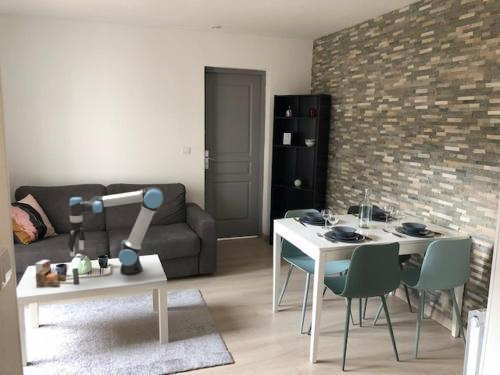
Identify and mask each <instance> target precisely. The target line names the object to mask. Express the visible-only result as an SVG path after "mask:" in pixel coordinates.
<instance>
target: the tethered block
mask: <svg viewBox="0 0 500 375" xmlns="http://www.w3.org/2000/svg"><path fill="white" fill-rule="evenodd" d="M58 274H59V273H56V272H55V273H54V272H52V273H48V274H47V275H46V276H45V281H58V276H59V275H58ZM72 275H73V276H72V279H73V281H60V284H73V285H79V284H80V279H79V278H80V277H79V268H77V267H75V268H72Z"/></svg>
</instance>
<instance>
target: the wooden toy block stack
mask: <svg viewBox="0 0 500 375" xmlns="http://www.w3.org/2000/svg"><path fill="white" fill-rule="evenodd" d="M48 273H53V272H52V267H51V268H43V269H42V270H40V271H39V272H38V273H36V272H35V283H36V288H60V286H61V283H60V282H67V275H58V281H45V276H46V275H47V274H48Z"/></svg>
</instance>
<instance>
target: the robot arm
mask: <svg viewBox="0 0 500 375" xmlns="http://www.w3.org/2000/svg"><path fill="white" fill-rule="evenodd" d="M163 201H164V192H163V191H162V189H161V188H159V187H157V186H150V187H146V188H141V189H140V190H135V191H129V192H122V193H115V194H114V193H113V194H109V195H102V196H93V197H92V198H91V199H90V200H83V198H82V197H80V196H79V197H78V196H75V197H74V196H73V197H71V198H69V227H70V228H71V229H72V230H70V231H69V238H68V243H67V247H69V256H70V257H75V256H76V253H75V252H76V251H75V250H76V247H75V243H76V240H77V238H79V240H78V250H79V251H84V250H85V247H84V242H85V241H86V236H85V232H84V228H83V226H84V222H83V213H101V212H103V208H106V207H112V206H114V207H115V206H121V205H126V204H127V205H128V204H133V203H140V206H141V209H140V212H139V214H138V216H137V219H136V220H135V221H136V222H135V224H134V225H133V227H132V230H131V233H130V234H129V236H128V238H127V239H123V240H121V243H120V245H121V248H120V251H119V253H118V261H119V263H120V269H119V272H120V274H121V275H125V276H134V275H137V274H140V273H142V272H143V265H142V262H141V260H140V253H141V252H140V251H141V249H142V246H141V243H142V242H143V239H144V238H145V234H147V230H148V228H149V226H150V223H151V221H152V219H153V216H154V214H155V213H158V211H159V209H160V207H161V205H162V204H163Z"/></svg>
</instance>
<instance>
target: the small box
mask: <svg viewBox="0 0 500 375" xmlns="http://www.w3.org/2000/svg"><path fill="white" fill-rule="evenodd" d="M34 264H35V274H36V273H38V272H39V271H40V270H42V269H43V268H51V269H52V266H51V260H49V259H42V260H39V261H37V262H35V263H34Z"/></svg>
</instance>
